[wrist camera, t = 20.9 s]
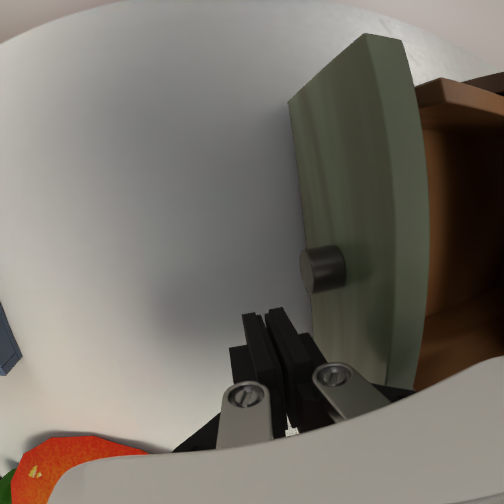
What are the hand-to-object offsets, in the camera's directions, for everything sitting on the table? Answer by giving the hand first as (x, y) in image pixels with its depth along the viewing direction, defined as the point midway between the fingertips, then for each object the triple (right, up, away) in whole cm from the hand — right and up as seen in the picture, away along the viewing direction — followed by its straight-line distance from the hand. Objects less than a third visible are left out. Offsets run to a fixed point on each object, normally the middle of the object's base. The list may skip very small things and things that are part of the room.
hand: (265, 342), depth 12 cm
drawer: (+9, +5, +3) cm, 11 cm away
